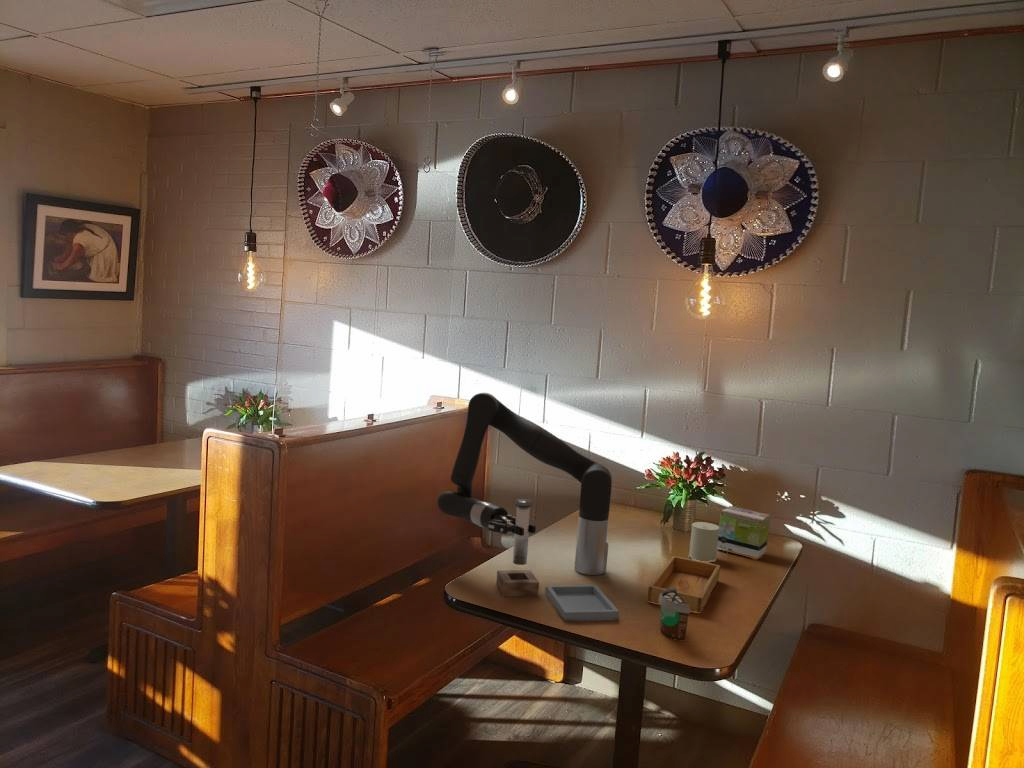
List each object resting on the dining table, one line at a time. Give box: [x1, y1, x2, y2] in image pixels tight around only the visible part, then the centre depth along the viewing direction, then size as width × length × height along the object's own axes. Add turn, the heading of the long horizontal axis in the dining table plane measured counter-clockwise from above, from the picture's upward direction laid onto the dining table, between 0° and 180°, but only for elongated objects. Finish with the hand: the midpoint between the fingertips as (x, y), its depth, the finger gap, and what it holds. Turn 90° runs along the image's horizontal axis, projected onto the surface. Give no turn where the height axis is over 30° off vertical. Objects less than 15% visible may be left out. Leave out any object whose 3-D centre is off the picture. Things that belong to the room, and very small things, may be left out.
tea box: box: [717, 505, 771, 557], centre depth 277 cm, size 15×10×15 cm
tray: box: [647, 555, 721, 613], centre depth 236 cm, size 31×15×6 cm, turn 156°
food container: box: [658, 588, 691, 642], centre depth 205 cm, size 12×6×10 cm, turn 5°
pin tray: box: [544, 584, 620, 623], centre depth 218 cm, size 15×19×2 cm
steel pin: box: [512, 498, 533, 566], centre depth 225 cm, size 5×5×18 cm
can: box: [688, 521, 719, 561], centre depth 267 cm, size 9×9×12 cm
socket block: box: [496, 569, 540, 598], centre depth 227 cm, size 10×10×4 cm
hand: (528, 531), depth 223 cm, fingers closed on steel pin, 4 cm apart
